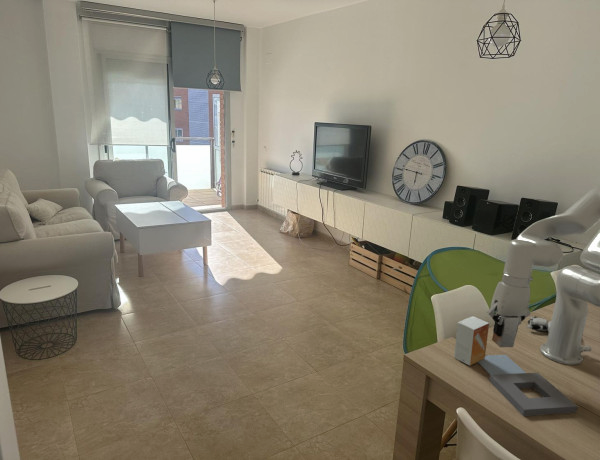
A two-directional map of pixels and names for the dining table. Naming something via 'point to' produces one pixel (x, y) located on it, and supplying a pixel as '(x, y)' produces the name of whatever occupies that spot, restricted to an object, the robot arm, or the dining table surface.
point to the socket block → (527, 406)
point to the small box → (471, 340)
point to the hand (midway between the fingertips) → (504, 333)
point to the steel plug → (507, 332)
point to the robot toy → (539, 324)
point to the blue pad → (499, 365)
